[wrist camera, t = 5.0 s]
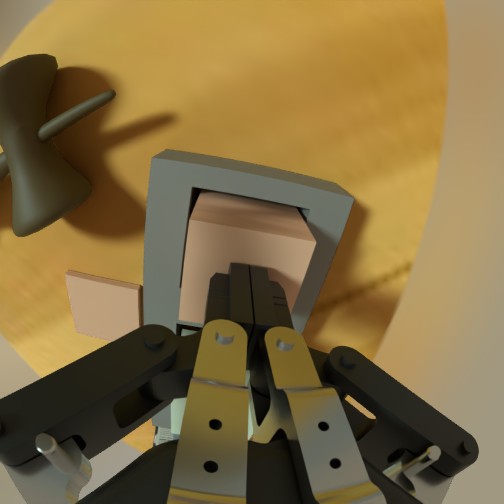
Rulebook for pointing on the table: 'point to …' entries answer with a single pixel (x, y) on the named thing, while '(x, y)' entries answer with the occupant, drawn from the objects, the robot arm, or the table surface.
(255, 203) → the terracotta block
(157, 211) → the charcoal board
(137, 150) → the table surface
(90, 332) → the terracotta tile
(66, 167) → the kendama
